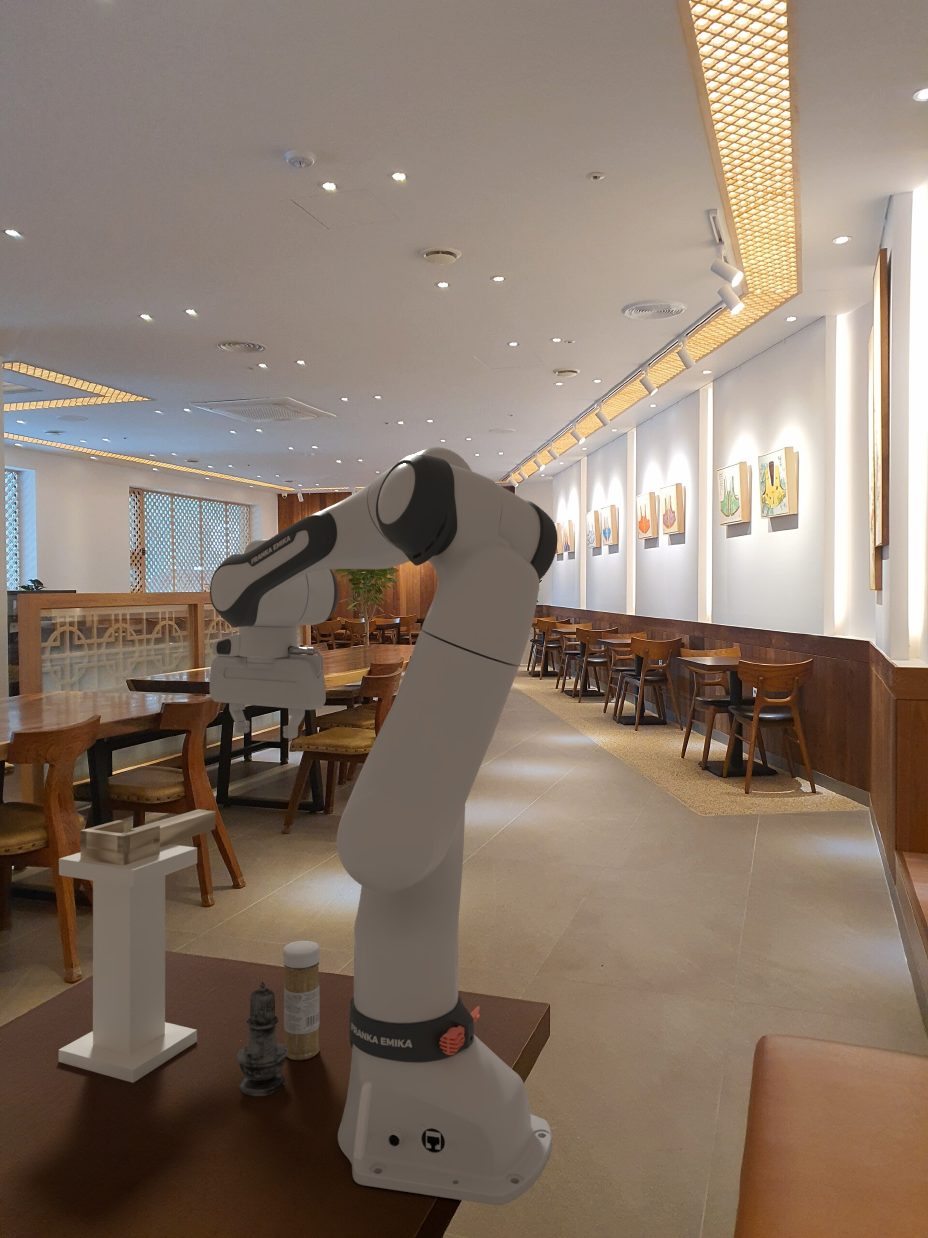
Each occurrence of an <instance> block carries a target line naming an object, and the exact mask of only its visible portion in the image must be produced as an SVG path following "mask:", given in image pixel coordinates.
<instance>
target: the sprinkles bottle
mask: <svg viewBox="0 0 928 1238" xmlns="http://www.w3.org/2000/svg"><path fill="white" fill-rule="evenodd" d="M282 951H283V952H282V963H283V967H284V981H283V982H284V983H283V984H284V986H283V1029H284V1034H283V1035H284V1046H286V1048H287V1049H288V1054H287V1056H286V1058H289V1059H290V1060H293V1061H294V1060H295V1061H304V1060H308V1059H312V1058H313V1057H315V1056H316V1055H317V1054H319V1052H320V1049H321V1048H320V1044H319V1037H320V1036H319V1034H320V1033H319V1031H320V1029H319V1027H320V983H319V981H320V979H319V978H320V977H319V976H320V975H319V974H320V973H319V965H320V961H321V949H320V945H319V944H318V943H317V942H314V941H310V940H298V941H292V942H290V943H288V944H286V945H284V947H283V949H282Z"/></svg>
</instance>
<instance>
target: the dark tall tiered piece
mask: <svg viewBox="0 0 928 1238" xmlns="http://www.w3.org/2000/svg"><path fill="white" fill-rule="evenodd" d="M265 986H266V983H265V982H264V981H261V983H260V984H259V988H257V989H255V990H254V991H252V993H251V995H250V998H249V1018H248V1019H247V1021H246V1025H247V1027H249V1032H248V1036H249V1037H248V1044H247V1045H245V1046H243V1048H241V1049H240V1050H239V1051H238V1052H237V1054H236V1060H237V1062H238V1063H239V1068H240V1070H241V1072H242V1074H243V1075H244V1078H242V1079H241V1081H240V1082H239V1084H238V1085H239V1086H238V1088H239V1090H240V1091H239V1092H241V1093H242V1094H244V1095H247V1096H250V1095H251V1097H264V1096H270V1095H272V1093H273V1094H275V1093H277V1092H279V1091H280V1090H281V1089H283V1087H284V1086H285V1085H286V1078H285V1076H284V1075H282V1074H281V1073H280V1072H281V1071H282V1069H283V1067H284V1065H285V1063H286V1058H287V1057H286V1056H287V1054H288V1049H287V1048H286V1046H285V1044H283V1043H280V1042H277V1037H276V1029H277V1028H276V1026H277V1024H278V1023H279V1018H278V1016H276V1014H275V1013H276V1007H275V1006H276V995H275V992H274V991H273V990H272V989H270V988H267V987H265Z"/></svg>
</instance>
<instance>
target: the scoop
mask: <svg viewBox="0 0 928 1238" xmlns="http://www.w3.org/2000/svg"><path fill="white" fill-rule="evenodd" d="M124 823H125V822H124V820H121V819H120V820H119V819H118V820H114V821H111V822H106V823H104V824H99V825H96V826H93V827H89V828H84V829H81V830H80V852H79V853H80V859H84V860H90V861H97V862H103V863H110V864H117V865H123V866H124V865H127V864H130V863H133V862H136V861H139V860H142V859H145V858H147V857H150V856H153V855H156V854H159V853H160V847H163V846H166V845H169V844H174V843H177V842H178V843H179V842H181V841H184V840H187V839H190V838H192V837H195V836H198V835H199V836H200V835H202V834H205V833H208V832H211V831H213V830H214V831H215V830H216V811H215V810H209V809H208V810H207V809H199V808H198V809H195V810H191V811H188V812H185V813H182V814H178V815H174V816H172V817H168V818H164V819H161V820H157V821H154V822H151V823H147V824H144V825H143V824H142V825H139V826H137V827H133V828H129V831H128V832H125V830H124V829H125V827H124V826H125V824H124Z"/></svg>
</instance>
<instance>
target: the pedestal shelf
mask: <svg viewBox="0 0 928 1238" xmlns="http://www.w3.org/2000/svg"><path fill="white" fill-rule="evenodd" d="M196 864H198V847H195V846H193V847H192V846H186V845H179V844H174V843H172V844H169V845H166V846H163V847H160V853H159V854H156V855H153V856H150V857H147V858H145V859H142V860H139V861H136V862H133V863H130V864H127V865H124V866H123V865H117V864H110V863H103V862H97V861H90V860H84V859H80V852H76V853H74V854H70V855H67V856H63V857H61V858H59V859H58V875H59V876H63V877H69V878H74V879H82V880H87V881H92V1031H90V1032H88V1033H86V1034H85V1035H83V1036H81V1037H79V1038H77V1039H76V1040H74V1041H72V1042H71V1043H68V1044H66V1045H65V1046H62V1047H61V1048H60V1049H58V1062H59V1063H61V1064H65V1065H69V1066H72V1067H75V1068H79V1069H83V1070H86V1071H90V1072H92V1073H93V1072H94V1073H96V1074H97V1073H98V1074H100V1075H103V1076H108V1077H111V1078H114V1079H118V1080H121V1081H124V1082H129V1083H132V1084H134V1083H135V1082H136V1081H138V1080H140V1079H141V1078H143V1077H144V1076H146V1075H148V1074H149V1073H151V1072H152V1071H154V1070H155V1069H157V1068H159V1067H160V1066H162V1065H163V1064H164V1063H166V1062H168V1061H169V1060H170V1059H172V1058H174V1057H175V1056H177V1055H179V1054H180V1053H181V1052H183V1051H184V1050H187V1048H189V1047H191V1046H192V1045H194V1044H195V1043H197V1042H198V1029H194V1028H190V1027H186V1026H182V1025H179V1024H176V1023H175V1024H174V1023H170V1022H166V876H167V875H170V874H173V873H174V872H177V871H181V870H183V869H185V868H189V867H191V866H194V865H196Z"/></svg>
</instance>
